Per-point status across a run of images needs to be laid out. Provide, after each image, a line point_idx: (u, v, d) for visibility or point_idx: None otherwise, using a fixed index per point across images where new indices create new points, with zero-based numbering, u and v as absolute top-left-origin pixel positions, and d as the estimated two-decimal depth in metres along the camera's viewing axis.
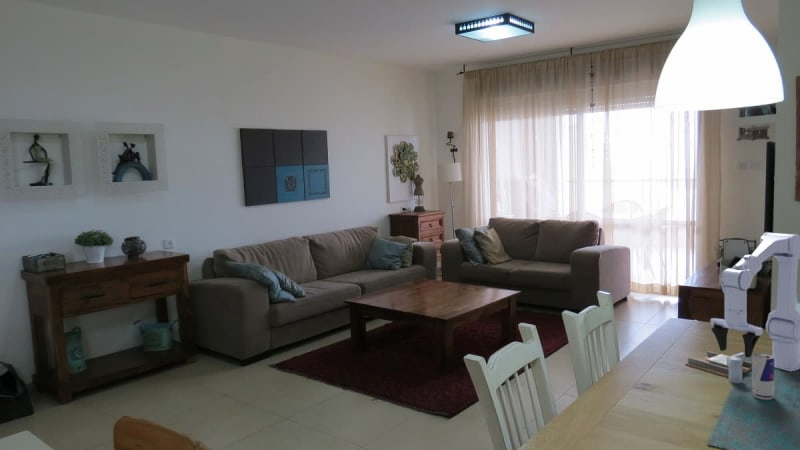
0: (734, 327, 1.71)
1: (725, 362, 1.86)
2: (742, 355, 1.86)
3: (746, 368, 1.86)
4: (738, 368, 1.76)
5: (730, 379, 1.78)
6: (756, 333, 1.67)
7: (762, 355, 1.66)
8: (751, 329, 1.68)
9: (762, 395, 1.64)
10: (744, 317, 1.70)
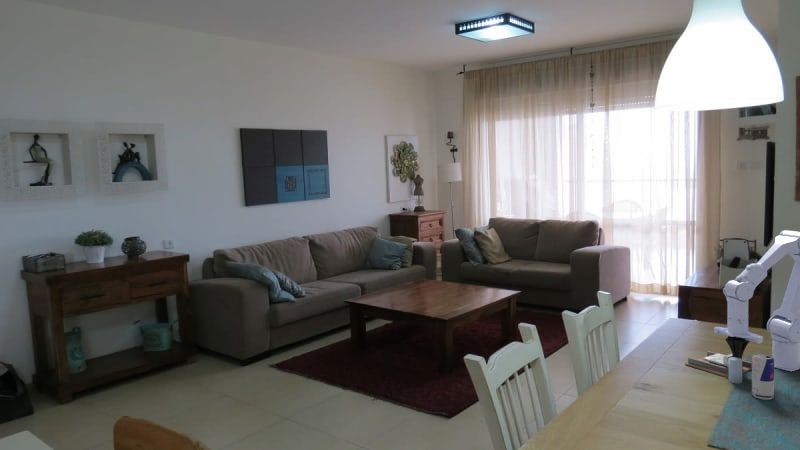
0: (736, 335, 1.82)
1: (722, 361, 1.87)
2: None
3: (746, 368, 1.86)
4: (738, 368, 1.76)
5: (730, 379, 1.78)
6: (757, 341, 1.78)
7: (762, 355, 1.66)
8: (752, 337, 1.79)
9: (762, 395, 1.64)
10: (746, 326, 1.82)
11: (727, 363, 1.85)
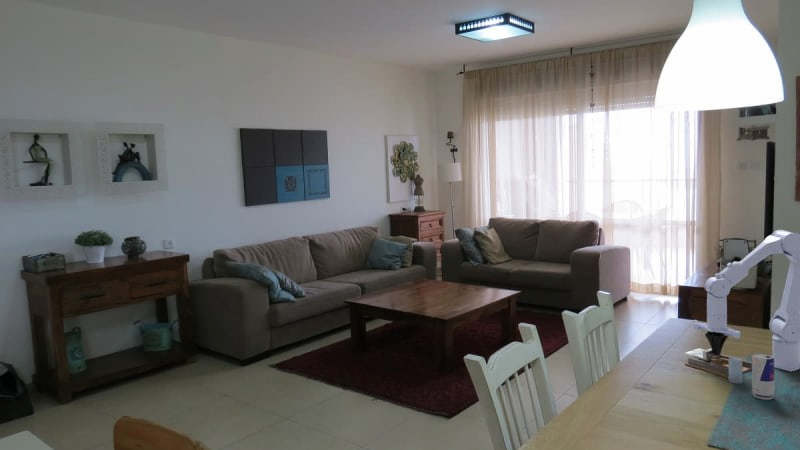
0: (715, 330, 1.88)
1: (702, 356, 1.93)
2: None
3: (746, 368, 1.86)
4: (738, 368, 1.76)
5: (730, 379, 1.78)
6: (735, 336, 1.84)
7: (762, 355, 1.66)
8: (730, 332, 1.85)
9: (762, 395, 1.64)
10: (724, 321, 1.88)
11: (706, 357, 1.91)
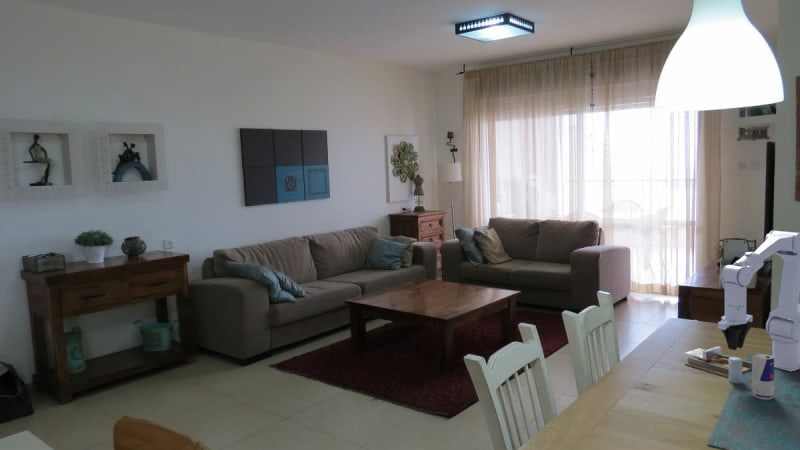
0: None
1: (701, 356, 1.93)
2: (718, 349, 1.93)
3: (746, 368, 1.86)
4: (738, 368, 1.76)
5: (730, 379, 1.78)
6: None
7: (762, 355, 1.66)
8: None
9: (762, 395, 1.64)
10: (729, 312, 1.75)
11: (706, 357, 1.91)
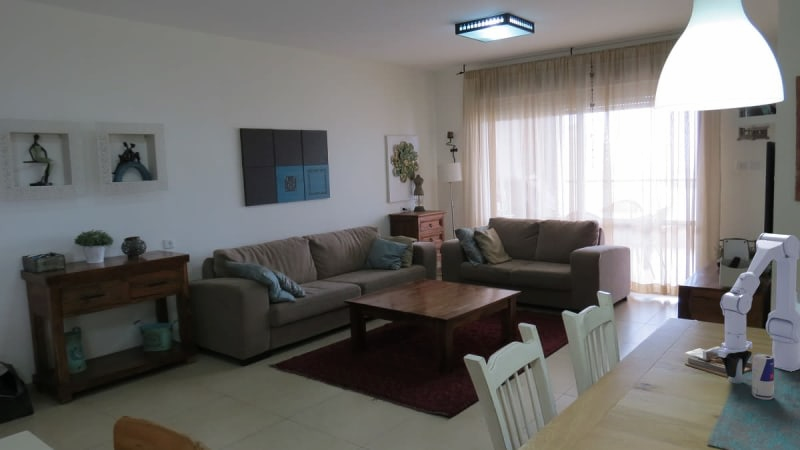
0: None
1: (701, 356, 1.93)
2: (718, 349, 1.93)
3: (746, 368, 1.86)
4: (738, 368, 1.76)
5: (730, 379, 1.78)
6: None
7: (762, 355, 1.66)
8: None
9: (762, 395, 1.64)
10: (729, 339, 1.76)
11: (706, 357, 1.91)
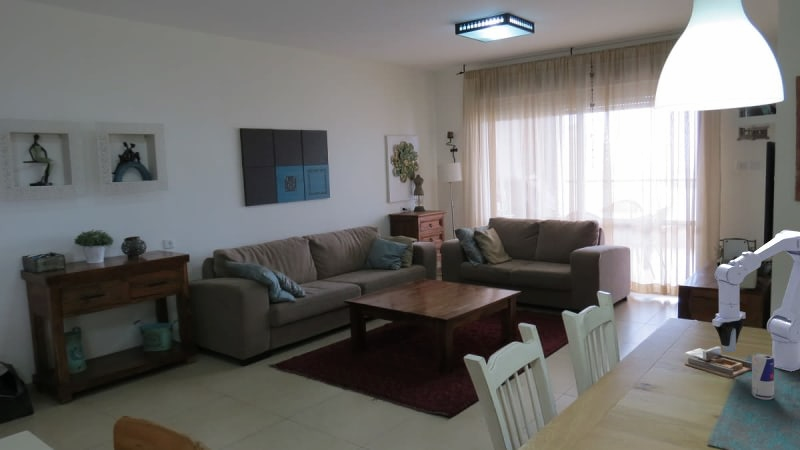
0: None
1: (701, 356, 1.93)
2: (718, 349, 1.93)
3: (746, 368, 1.86)
4: (732, 337, 1.82)
5: (724, 348, 1.84)
6: None
7: (762, 355, 1.66)
8: None
9: (762, 395, 1.64)
10: (723, 309, 1.82)
11: (706, 357, 1.91)
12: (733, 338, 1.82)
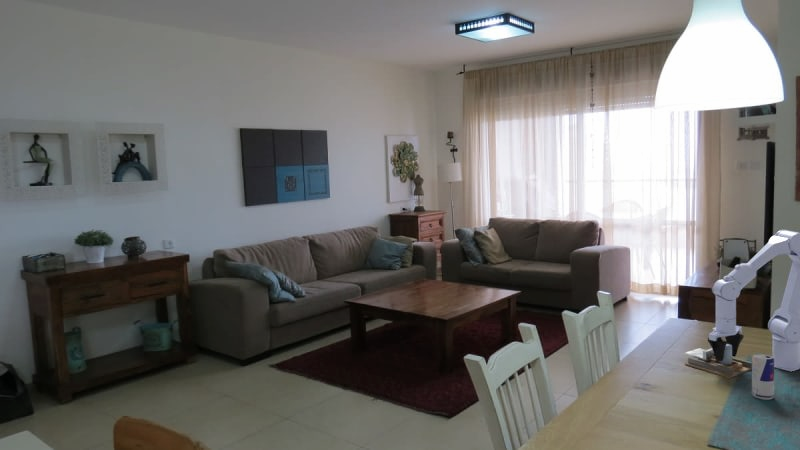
0: None
1: (701, 356, 1.93)
2: None
3: (746, 368, 1.86)
4: (728, 354, 1.87)
5: (721, 364, 1.89)
6: None
7: (762, 355, 1.66)
8: None
9: (762, 395, 1.64)
10: (719, 324, 1.86)
11: (706, 357, 1.91)
12: (729, 354, 1.87)
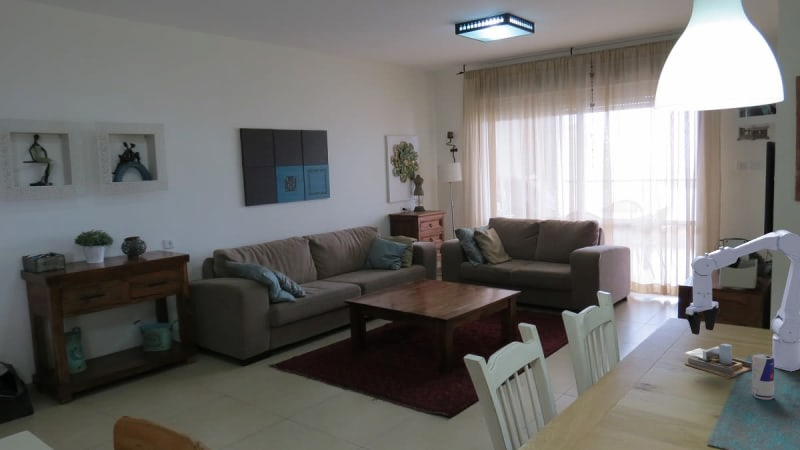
0: None
1: (701, 356, 1.93)
2: (718, 349, 1.93)
3: (746, 368, 1.86)
4: (728, 354, 1.87)
5: (721, 364, 1.89)
6: None
7: (762, 355, 1.66)
8: None
9: (762, 395, 1.64)
10: (696, 299, 1.93)
11: (706, 357, 1.91)
12: (729, 355, 1.87)
